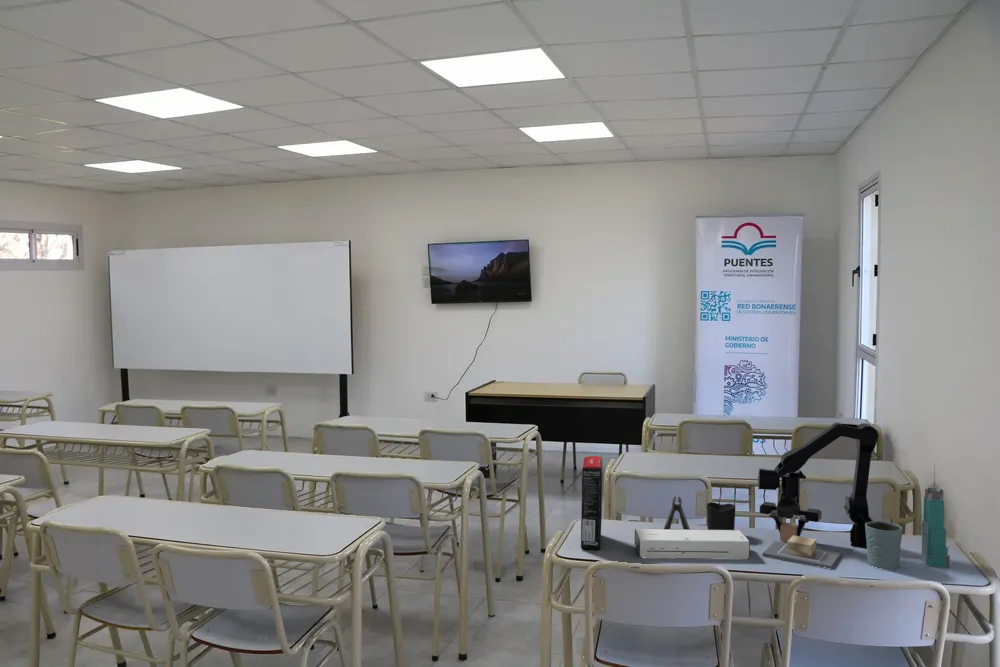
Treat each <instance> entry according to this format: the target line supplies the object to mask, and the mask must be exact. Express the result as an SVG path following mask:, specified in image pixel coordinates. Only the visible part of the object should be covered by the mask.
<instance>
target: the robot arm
mask: <svg viewBox="0 0 1000 667" xmlns="http://www.w3.org/2000/svg"><path fill="white" fill-rule="evenodd" d="M840 437H845V438H849V439H853V440H855V444H856V458H855V466H854V474H853V475H854V476H853V485H852V492H851V494H850V496H847V495H845V497H844V502H845V504H844V506H843V509H844V510H845V513H846V515H847V517H849V519H850V520H851V522H853V524H852V527H851V529H849V531H850V532H849V536H850V537H849V538H850V539H849V542H850V547H851V546H852V547H858V548H863V547H865V548H864V549H867V540H866V530H865V523H867V522H871V521H874V520H873V519H872V517H871V516H870V513H869V504H868V498H867V493H868V485H869V478H870V469H871V468H870V467H871V460H872V454H873V452H874V450H875V448H876V446H877V443H878V440H879V432H878V430H877V429H876V428H875V427H874V426H872V425H871V424H869V423H866V422H863V423H859V424H853V423H843V422H842V423H841V422H839V421H838V422H834V423H833V424H831V425H830V426H829V427H828V428H826V429H825V430H823V431H821V433H820V432H819V434H818V435H815V437H813V438H812V439H810V440H809V441H808V442H806V443H805V444H803V445H801V446H799V447H796V448H792V449H791V450H788V451H787V452H784V453H783V454H782V455H781V457H780V462H778V464H777V465H776V466H775V468H774V469H768V468H767V469H766V468H759V469H758V476H757V488H758V489H757V490H769V491H776V490H777V489H779V488H780V487H781V488H780V489H781V490H780V491H781V492H780V499H779V501H778V504H776V503H775V502H771V501H770V502H769V501H764V502H763V503H761V504H760V505H759V514H764V515H769V517H770V518H772V519H773V520H774V521H775V524H776V526H777V529H778V531H779V533H780V526H781V525H782V524H783V523H784V518H785V519H789V520H791V519H793V518H794V516H799V519H798V520H797V521H798V522H797V524H798V532H797V536H800V537H801V535H802V532H803V530H804V528H805V526H806V524H807V523H809V522H815V523H819V521H820V520H821V519H822V518H823V513H822V511H821V509H816V508H810V507H809V508H808V509H807V510H804V509H803V510H801V505H800V504H801V503H800V501H801V500H800V497H801V490H800V489H801V488H800V487H801V481H800V480H806V479H807V476H806V474H804V473H803V472H802V470H801V469H802V468H803V466H805V465H806V463H807V462H808V460H810V458H811V457H812V456H814V455H815V454H817V453H819V452H820V451H821V450H823V449H824V448H826V447H827V446H828V445H830V444H832V443H833V442H834V441H836V440H837V439H838V438H840Z"/></svg>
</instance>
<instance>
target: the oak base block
mask: <svg viewBox="0 0 1000 667" xmlns="http://www.w3.org/2000/svg"><path fill="white" fill-rule="evenodd" d="M786 543H787V554H790V555H796V556H801V557H806V558H812V556H813V555H814V554H815V553H816V548H817V539H816V538H810V537H804V536H801V535H800V536H794V535H793V536H792V537H791V538H790V539H789V540H788V541H787V542H786Z"/></svg>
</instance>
